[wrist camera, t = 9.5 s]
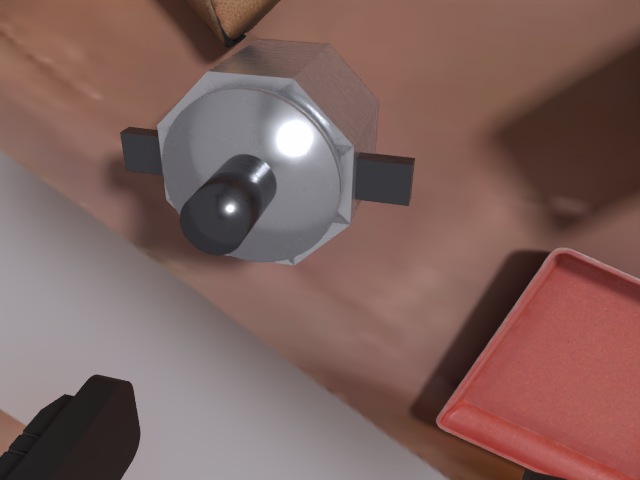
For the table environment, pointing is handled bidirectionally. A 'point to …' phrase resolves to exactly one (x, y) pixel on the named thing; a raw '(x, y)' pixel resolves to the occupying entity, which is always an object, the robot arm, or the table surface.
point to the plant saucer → (560, 375)
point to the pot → (321, 100)
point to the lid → (252, 174)
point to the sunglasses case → (231, 16)
